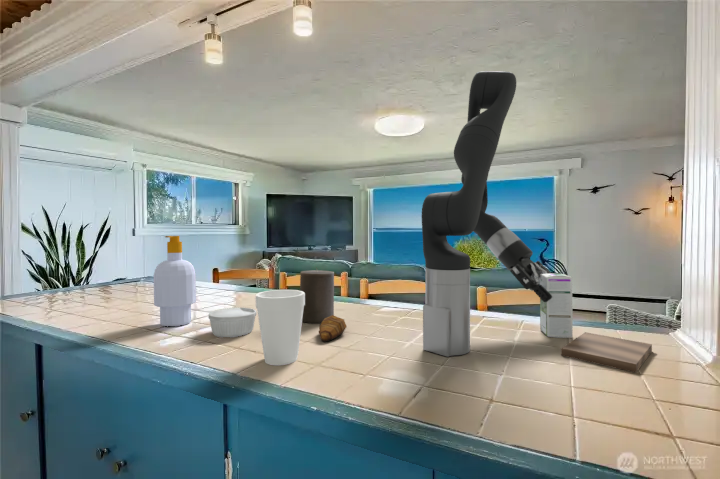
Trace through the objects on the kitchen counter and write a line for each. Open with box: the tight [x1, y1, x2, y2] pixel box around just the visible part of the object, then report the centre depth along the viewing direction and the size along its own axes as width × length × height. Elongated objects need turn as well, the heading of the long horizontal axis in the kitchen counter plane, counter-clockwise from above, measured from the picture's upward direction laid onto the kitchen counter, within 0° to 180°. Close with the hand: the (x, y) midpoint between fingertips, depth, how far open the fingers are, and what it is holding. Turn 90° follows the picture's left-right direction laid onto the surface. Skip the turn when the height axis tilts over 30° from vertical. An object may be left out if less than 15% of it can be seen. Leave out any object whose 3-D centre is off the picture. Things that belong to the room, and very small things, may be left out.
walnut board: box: [560, 331, 653, 374], centre depth 72 cm, size 16×12×2 cm
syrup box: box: [539, 272, 574, 339], centre depth 85 cm, size 6×6×14 cm
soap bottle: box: [153, 235, 197, 328], centre depth 97 cm, size 10×10×24 cm
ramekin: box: [207, 307, 257, 338], centre depth 89 cm, size 11×11×5 cm
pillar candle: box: [299, 266, 335, 325], centre depth 101 cm, size 10×10×15 cm
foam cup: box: [255, 289, 305, 366], centre depth 69 cm, size 10×9×13 cm
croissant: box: [318, 314, 347, 342], centre depth 86 cm, size 14×7×5 cm, turn 167°
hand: (555, 297), depth 85 cm, fingers open, 8 cm apart
